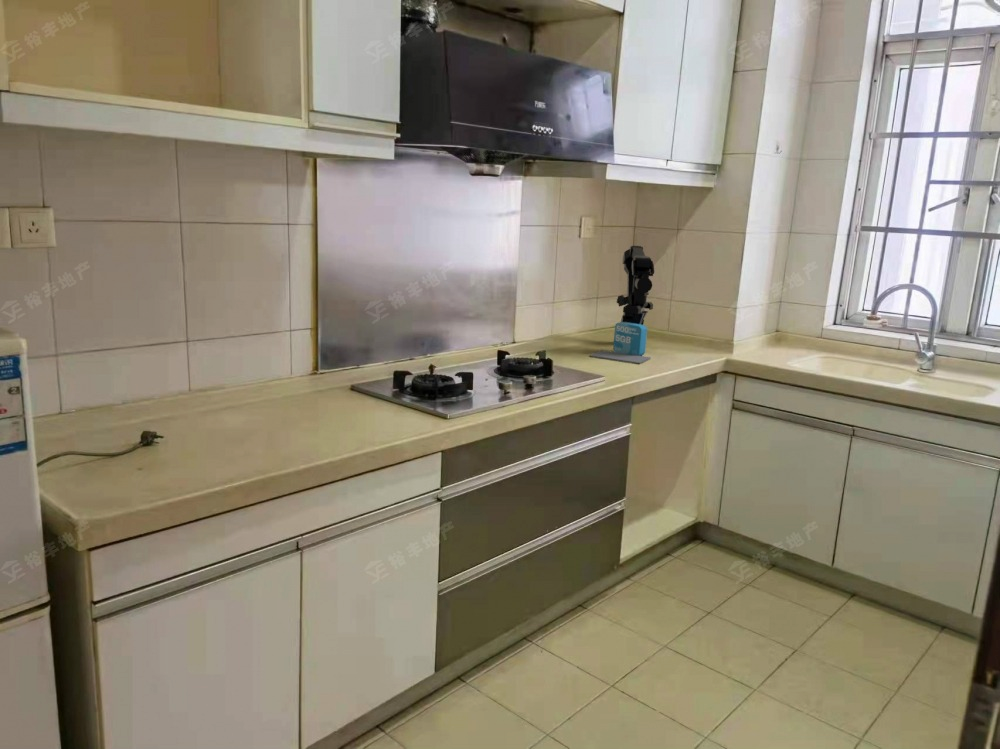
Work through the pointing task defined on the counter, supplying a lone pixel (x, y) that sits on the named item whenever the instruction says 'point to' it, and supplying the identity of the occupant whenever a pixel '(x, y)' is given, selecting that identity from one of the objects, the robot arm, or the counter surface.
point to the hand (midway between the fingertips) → (636, 328)
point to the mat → (620, 357)
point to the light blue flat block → (630, 338)
